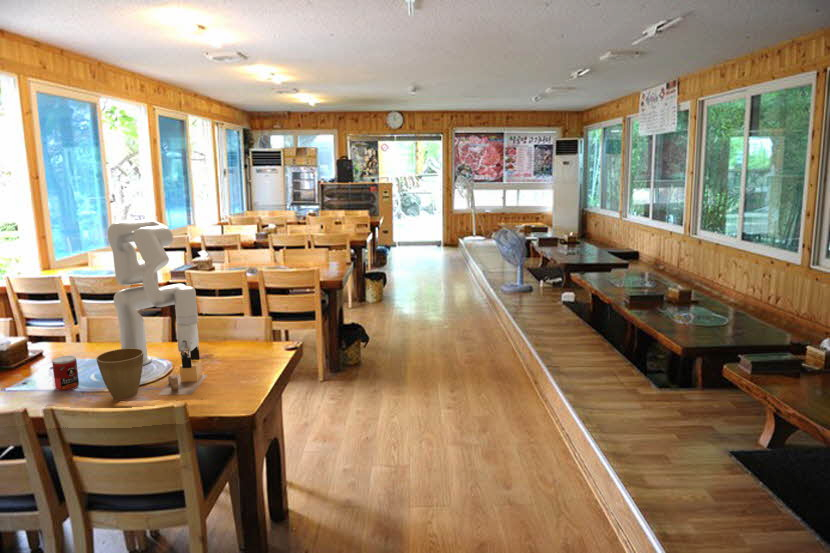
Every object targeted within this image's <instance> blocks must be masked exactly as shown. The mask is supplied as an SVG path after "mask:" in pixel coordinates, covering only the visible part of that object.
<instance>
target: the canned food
mask: <svg viewBox="0 0 830 553" xmlns="http://www.w3.org/2000/svg"><path fill="white" fill-rule="evenodd" d="M51 362H52V364H51V365H52V371H53V378H54V387H55V389H56V390H57V391H60V392H61V391H64V392H65V391H70V389H71V390H73V389H72V388H74V389H76V388H78V387H79V384H80V381H79V379H80V378H79V372H78V363H77V362H78V361H77V357H76V356H75V355H63V356H59V357H56V358H54V359H52V361H51ZM77 386H78V387H77ZM75 387H76V388H75Z"/></svg>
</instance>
